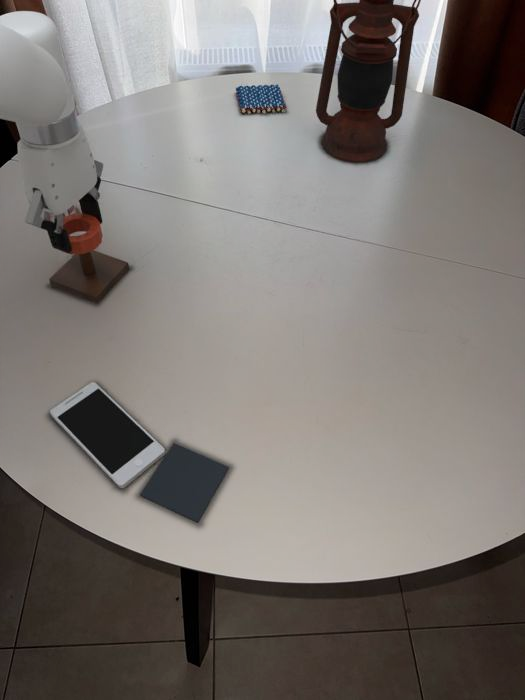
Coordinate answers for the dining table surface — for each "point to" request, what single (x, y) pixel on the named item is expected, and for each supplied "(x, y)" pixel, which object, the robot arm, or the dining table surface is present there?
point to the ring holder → (89, 275)
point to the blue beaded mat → (260, 98)
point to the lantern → (364, 77)
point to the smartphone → (108, 434)
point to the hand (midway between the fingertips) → (78, 234)
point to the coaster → (185, 482)
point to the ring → (87, 239)
